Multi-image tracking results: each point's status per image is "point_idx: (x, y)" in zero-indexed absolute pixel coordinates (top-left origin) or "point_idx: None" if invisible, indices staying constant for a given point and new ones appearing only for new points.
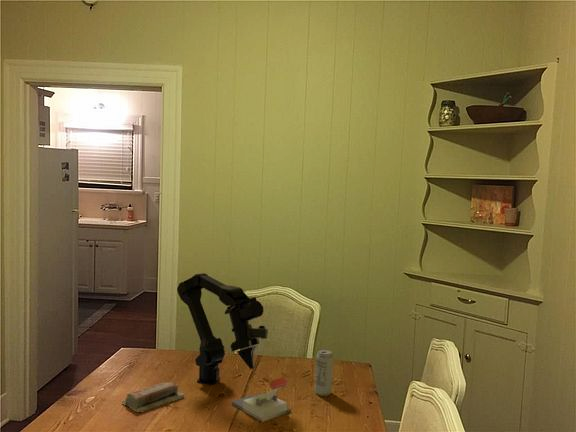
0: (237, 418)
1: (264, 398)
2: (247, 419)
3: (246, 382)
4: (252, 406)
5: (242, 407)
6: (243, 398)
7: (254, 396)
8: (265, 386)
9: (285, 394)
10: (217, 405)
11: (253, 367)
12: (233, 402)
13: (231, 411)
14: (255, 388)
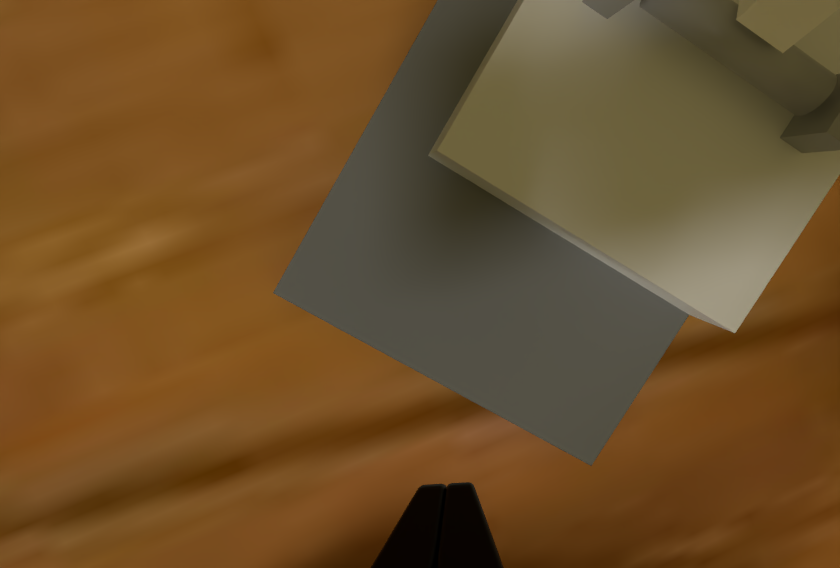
0: (830, 288)
1: (786, 58)
2: (825, 198)
3: (12, 543)
4: (822, 182)
5: (685, 318)
6: (487, 391)
7: (393, 309)
8: (9, 318)
9: (115, 24)
10: (643, 550)
11: (445, 490)
12: (605, 441)
13: (717, 392)
14: (119, 396)
